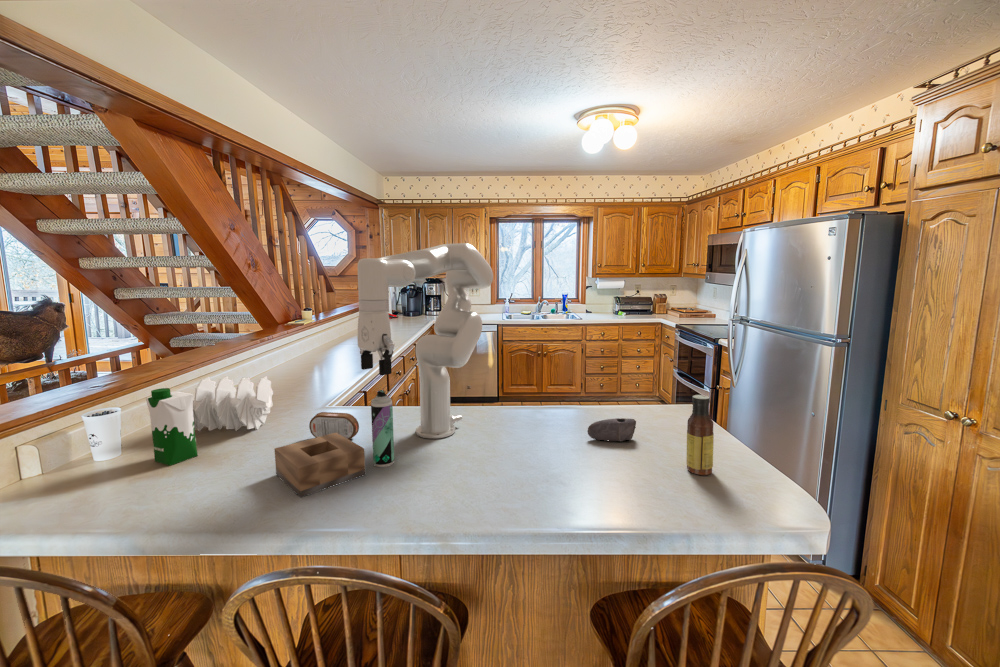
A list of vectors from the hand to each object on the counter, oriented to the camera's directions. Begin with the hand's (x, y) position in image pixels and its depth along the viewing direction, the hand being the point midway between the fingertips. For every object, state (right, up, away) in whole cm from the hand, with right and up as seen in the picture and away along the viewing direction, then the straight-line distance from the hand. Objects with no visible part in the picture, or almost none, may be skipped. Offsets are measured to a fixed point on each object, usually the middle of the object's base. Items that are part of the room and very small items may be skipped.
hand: (376, 371), depth 114 cm
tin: (-18, -23, +19) cm, 35 cm away
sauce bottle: (+84, -26, -2) cm, 88 cm away
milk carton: (-57, -25, +5) cm, 62 cm away
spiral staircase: (-56, -22, +28) cm, 66 cm away
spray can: (+1, -25, +3) cm, 25 cm away
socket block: (-13, -26, -4) cm, 29 cm away
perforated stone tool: (+67, -23, +19) cm, 73 cm away
